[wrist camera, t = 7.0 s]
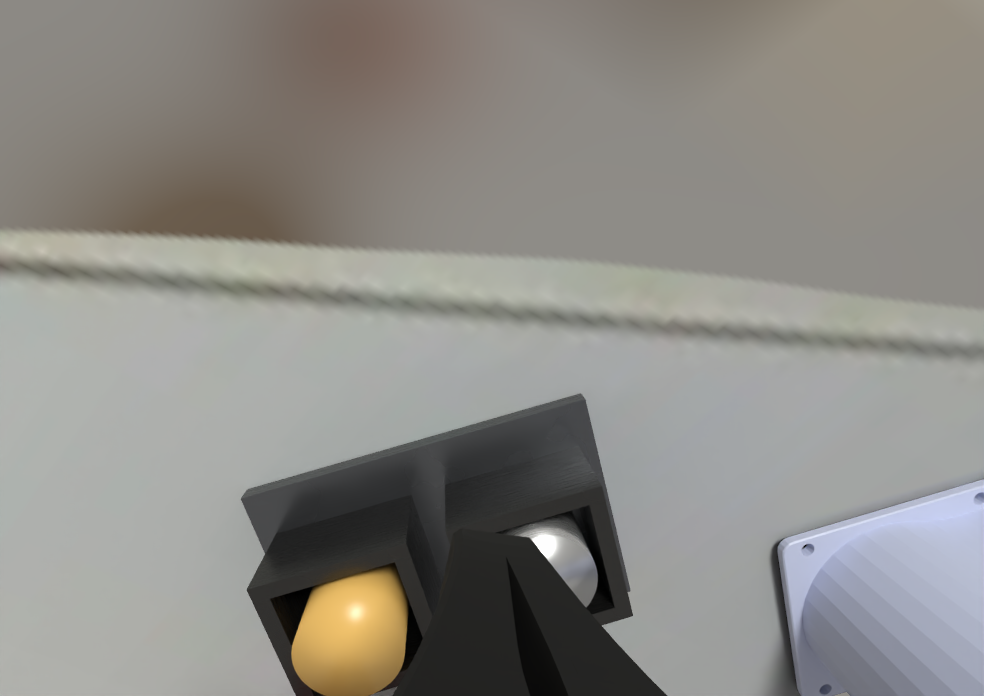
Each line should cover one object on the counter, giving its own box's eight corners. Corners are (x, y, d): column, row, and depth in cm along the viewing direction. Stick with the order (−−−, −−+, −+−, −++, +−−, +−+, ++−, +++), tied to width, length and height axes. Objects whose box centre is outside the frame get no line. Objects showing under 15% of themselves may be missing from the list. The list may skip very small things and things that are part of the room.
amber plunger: (394, 531, 18) (384, 593, 15) (422, 608, 19) (418, 680, 16) (301, 558, 18) (274, 625, 15) (333, 634, 19) (314, 711, 16)
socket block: (580, 393, 19) (610, 432, 15) (625, 580, 21) (660, 649, 17) (247, 489, 18) (204, 549, 15) (326, 669, 20) (303, 756, 17)
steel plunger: (562, 474, 18) (585, 523, 16) (582, 551, 19) (607, 611, 16) (473, 500, 18) (479, 554, 15) (497, 576, 19) (507, 641, 16)
